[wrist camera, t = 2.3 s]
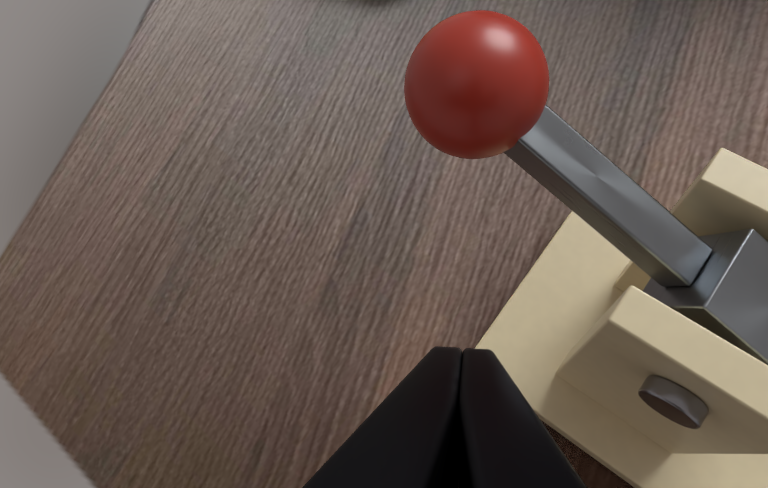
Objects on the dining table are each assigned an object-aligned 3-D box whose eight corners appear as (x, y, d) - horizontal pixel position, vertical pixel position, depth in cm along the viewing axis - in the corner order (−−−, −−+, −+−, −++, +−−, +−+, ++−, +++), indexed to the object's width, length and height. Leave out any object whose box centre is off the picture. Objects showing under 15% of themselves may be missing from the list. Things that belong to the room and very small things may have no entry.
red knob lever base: (465, 365, 21) (457, 302, 12) (576, 209, 23) (640, 50, 14) (718, 549, 18) (965, 647, 9) (827, 351, 19) (1132, 264, 10)
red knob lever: (365, 116, 13) (391, 61, 10) (441, 25, 14) (488, -53, 11) (690, 386, 14) (804, 410, 11) (748, 290, 15) (872, 288, 12)
